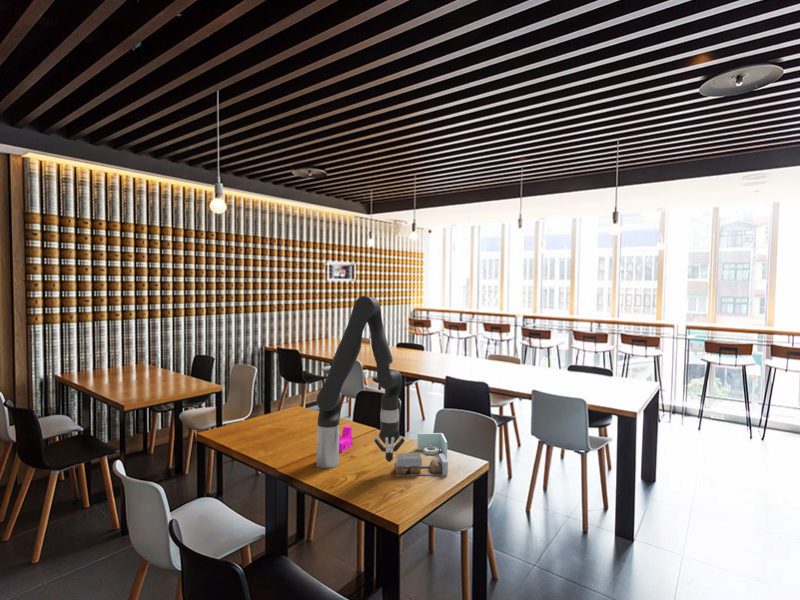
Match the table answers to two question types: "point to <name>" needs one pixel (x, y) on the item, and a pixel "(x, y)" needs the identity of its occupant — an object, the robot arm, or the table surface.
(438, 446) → the l-shaped corner panel
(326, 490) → the table surface
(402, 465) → the slab
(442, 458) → the stop gate
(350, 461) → the table surface
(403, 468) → the roller bed
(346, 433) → the magenta curved bracket
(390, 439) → the robot arm
